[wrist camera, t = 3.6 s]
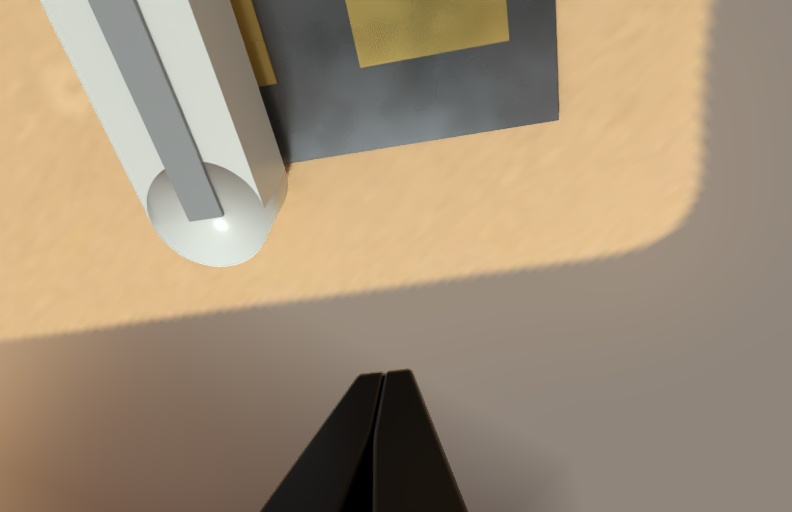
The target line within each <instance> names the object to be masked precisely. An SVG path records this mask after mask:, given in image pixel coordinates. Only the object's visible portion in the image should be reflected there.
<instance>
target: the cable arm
mask: <svg viewBox="0 0 792 512" xmlns="http://www.w3.org/2000/svg"><path fill="white" fill-rule="evenodd" d="M40 2H41V4H42V6H43V8H44V10H45V12H46V14H47V16H48V18H49V20H50V22H51V24H52V26H53V28H54V30H55V32H56V34H57V36H58V38H59V40H60V42H61V44H62V46H63V48H64V50H65V52H66V54H67V56H68V58H69V60H70V62H71V64H72V66H73V68H74V70H75V72H76V74H77V76H78V78H79V80H80V82H81V84H82V86H83V88H84V90H85V92H86V94H87V96H88V98H89V100H90V102H91V104H92V106H93V108H94V110H95V112H96V114H97V116H98V118H99V120H100V122H101V124H102V126H103V128H104V130H105V132H106V134H107V136H108V138H109V140H110V142H111V144H112V146H113V148H114V150H115V152H116V154H117V156H118V157H119V159H120V161H121V163H122V165H123V167H124V169H125V171H126V173H127V175H128V177H129V179H130V181H131V183H132V185H133V187H134V189H135V191H136V193H137V195H138V197H139V199H140V201H141V203H142V205H143V207H144V209H145V211H146V213H147V215H148V217H149V219H150V221H151V223H152V225H153V227H154V229H155V230H156V232H157V233H158V235H159V236H160V238H161V239H162V240H163V241H164V242H165V243H166V244H167V245H168V246H169V247H170V248H171V249H173V250H174V251H175V252H177V253H178V254H180V255H182V256H183V257H185V258H187V259H189V260H191V261H194V262H197V263H199V264H203V265H207V266H214V267H226V266H233V265H237V264H240V263H243V262H245V261H247V260H249V259H250V258H252V257H253V256H254V255H255V254H256V253H257V252H258V251H259V250H260V249H261V247H262V245H263V244H264V242H265V240H266V238H267V236H268V233H269V231H270V229H271V227H272V225H273V223H274V221H275V219H276V217H277V215H278V213H279V211H280V209H281V207H282V205H283V203H284V201H285V198H286V195H287V190H288V179H287V174H286V170H285V167H284V164H283V161H282V158H281V155H280V152H279V149H278V145H277V142H276V139H275V136H274V133H273V130H272V127H271V124H270V121H269V118H268V115H267V112H266V109H265V106H264V103H263V100H262V97H261V94H260V91H259V88H258V85H257V82H256V78H255V75H254V72H253V69H252V66H251V63H250V60H249V57H248V54H247V51H246V48H245V45H244V42H243V39H242V36H241V33H240V30H239V27H238V24H237V21H236V18H235V15H234V11H233V8H232V5H231V2H230V0H40Z"/></svg>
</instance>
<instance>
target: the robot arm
mask: <svg viewBox="0 0 792 512" xmlns="http://www.w3.org/2000/svg"><path fill="white" fill-rule="evenodd" d="M259 512H468V510H467V508H466V505H465V502H464V500H463V497H462V495H461V492H460V490H459V488H458V485H457V483H456V480H455V477H454V475H453V472H452V470H451V467H450V465H449V462H448V460H447V457H446V455H445V452H444V449H443V447H442V444H441V442H440V440H439V437H438V434H437V432H436V430H435V427H434V424H433V422H432V420H431V417H430V414H429V412H428V409H427V407H426V404H425V402H424V399H423V397H422V394H421V392H420V389H419V386H418V384H417V381H416V379H415V376H414V374H413V372H412V370H411V369H400V370H391V371H388V372H387V373H386V374H385V373H383V372H371V373H363V374H360V375H359V376H357V377H356V379H355V380H354V381H353V383H352V384H351V386H350V387H349V388H348V390H347V391H346V392H345V394H344V395H343V397H342V398H341V399H340V401H339V402H338V403H337V405H336V406H335V408H334V409H333V410H332V412H331V413H330V415H329V416H328V417H327V419H326V420H325V422H324V423H323V424H322V426H321V427H320V428H319V430H318V431H317V433H316V434H315V435H314V437H313V438H312V439H311V441H310V442H309V444H308V445H307V446H306V448H305V449H304V451H303V452H302V453H301V455H300V456H299V457H298V459H297V460H296V462H295V463H294V464H293V466H292V467H291V468H290V470H289V471H288V472H287V474H286V475H285V477H284V478H283V479H282V481H281V482H280V484H279V485H278V486H277V488H276V489H275V491H274V492H273V493H272V495H271V496H270V497H269V499H268V500H267V501H266V503H265V504H264V506H263V507H262V508H261V510H260V511H259Z"/></svg>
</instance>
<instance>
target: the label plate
mask: <svg viewBox="0 0 792 512" xmlns="http://www.w3.org/2000/svg"><path fill="white" fill-rule="evenodd" d="M230 2H231V5H232V8H233V11H234V15H235V18H236V21H237V24H238V27H239V30H240V33H241V36H242V39H243V42H244V45H245V48H246V51H247V54H248V57H249V60H250V63H251V66H252V69H253V72H254V75H255V78H256V82H257V85H258V88H259V91H260V94H261V97H262V100H263V103H264V106H265V109H266V112H267V115H268V118H269V121H270V124H271V127H272V130H273V133H274V136H275V139H276V142H277V145H278V149H279V152H280V155H281V158H282V161H283V164H288V163H294V162H301V161H307V160H313V159H319V158H325V157H332V156H338V155H344V154H350V153H357V152H363V151H369V150H375V149H381V148H388V147H394V146H400V145H406V144H413V143H419V142H425V141H431V140H437V139H444V138H450V137H456V136H462V135H469V134H475V133H481V132H487V131H493V130H500V129H506V128H512V127H518V126H525V125H531V124H537V123H543V122H549V121H556V120H559V112H558V81H557V49H556V18H555V0H230Z"/></svg>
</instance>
